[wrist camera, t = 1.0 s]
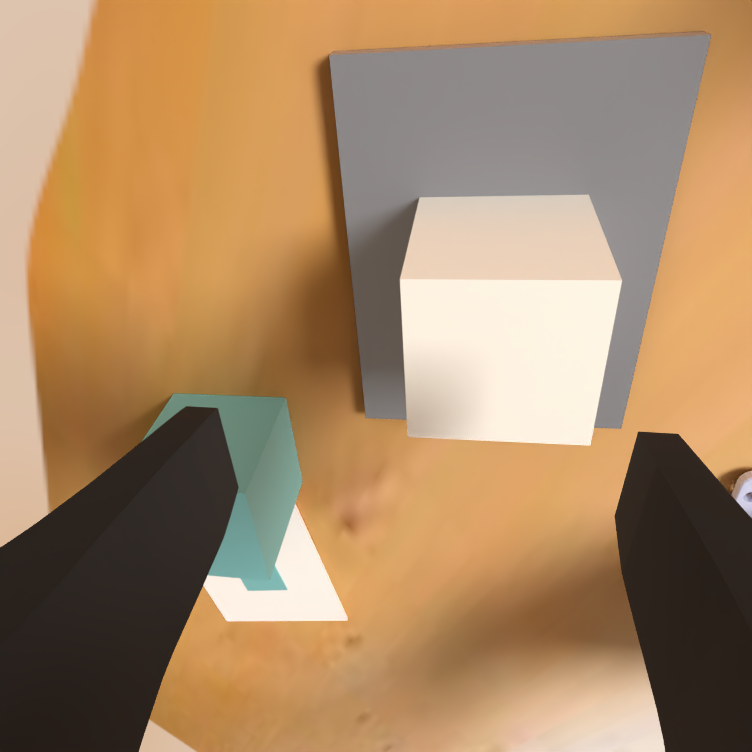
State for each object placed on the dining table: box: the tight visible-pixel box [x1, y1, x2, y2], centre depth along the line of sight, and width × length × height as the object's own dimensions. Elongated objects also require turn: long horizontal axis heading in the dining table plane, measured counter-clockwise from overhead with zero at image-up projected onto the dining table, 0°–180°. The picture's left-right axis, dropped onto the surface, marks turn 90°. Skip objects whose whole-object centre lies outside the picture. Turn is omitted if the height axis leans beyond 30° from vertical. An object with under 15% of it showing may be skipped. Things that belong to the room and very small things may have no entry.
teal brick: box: [142, 393, 303, 581], centre depth 23 cm, size 5×5×5 cm
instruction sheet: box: [203, 504, 348, 621], centre depth 30 cm, size 10×7×1 cm
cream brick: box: [400, 195, 622, 445], centre depth 16 cm, size 5×5×5 cm
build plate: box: [329, 31, 711, 429], centre depth 18 cm, size 12×9×1 cm
